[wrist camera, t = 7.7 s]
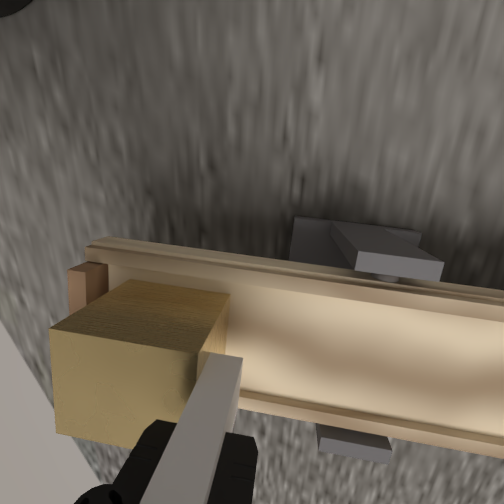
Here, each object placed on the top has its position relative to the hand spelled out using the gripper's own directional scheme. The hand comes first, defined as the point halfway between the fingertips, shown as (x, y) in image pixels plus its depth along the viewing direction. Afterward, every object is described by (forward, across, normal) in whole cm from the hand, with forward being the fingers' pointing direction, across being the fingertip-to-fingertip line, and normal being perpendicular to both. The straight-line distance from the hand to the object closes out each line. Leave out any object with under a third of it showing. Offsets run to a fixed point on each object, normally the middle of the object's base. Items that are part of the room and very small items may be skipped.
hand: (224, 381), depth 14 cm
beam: (+10, +8, 0) cm, 12 cm away
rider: (+4, -4, 0) cm, 5 cm away
